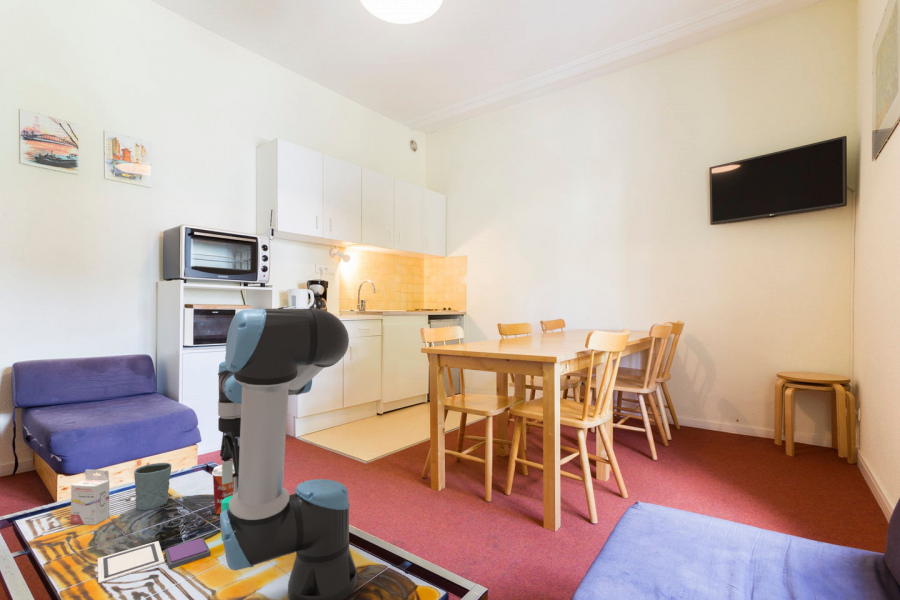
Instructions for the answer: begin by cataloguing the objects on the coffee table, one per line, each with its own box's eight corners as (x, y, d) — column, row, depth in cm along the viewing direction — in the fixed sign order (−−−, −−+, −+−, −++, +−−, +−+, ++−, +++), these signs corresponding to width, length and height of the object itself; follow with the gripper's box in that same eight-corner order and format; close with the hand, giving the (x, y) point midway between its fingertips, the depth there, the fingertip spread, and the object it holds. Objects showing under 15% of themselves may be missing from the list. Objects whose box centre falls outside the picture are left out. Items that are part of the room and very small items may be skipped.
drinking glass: (126, 509, 139) (126, 471, 140) (155, 496, 149) (156, 461, 149) (150, 513, 136) (150, 474, 137) (178, 499, 146) (178, 463, 146)
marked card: (164, 562, 109) (164, 561, 109) (98, 583, 101) (98, 582, 101) (158, 541, 119) (158, 540, 119) (97, 559, 111) (97, 558, 111)
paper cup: (218, 520, 131) (218, 473, 132) (207, 513, 136) (207, 468, 136) (244, 510, 137) (244, 466, 138) (232, 504, 142) (232, 461, 142)
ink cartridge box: (69, 524, 130) (69, 474, 130) (84, 516, 135) (85, 468, 135) (95, 525, 129) (95, 475, 129) (110, 517, 134) (110, 469, 134)
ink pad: (210, 555, 112) (210, 550, 112) (169, 569, 106) (169, 563, 106) (203, 541, 119) (203, 536, 119) (164, 553, 113) (164, 548, 113)
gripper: (260, 422, 115) (260, 502, 115) (236, 405, 134) (236, 474, 134) (229, 427, 110) (229, 510, 110) (209, 409, 130) (208, 480, 129)
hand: (233, 490), depth 122 cm, fingers open, 13 cm apart
